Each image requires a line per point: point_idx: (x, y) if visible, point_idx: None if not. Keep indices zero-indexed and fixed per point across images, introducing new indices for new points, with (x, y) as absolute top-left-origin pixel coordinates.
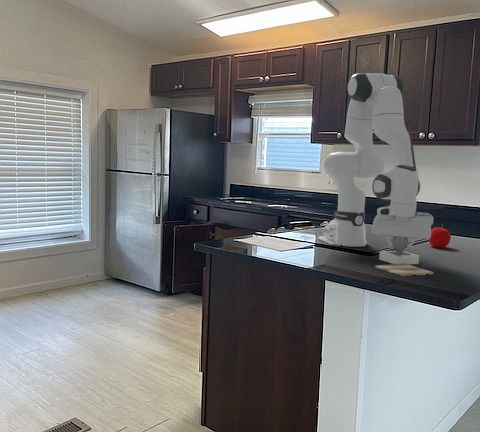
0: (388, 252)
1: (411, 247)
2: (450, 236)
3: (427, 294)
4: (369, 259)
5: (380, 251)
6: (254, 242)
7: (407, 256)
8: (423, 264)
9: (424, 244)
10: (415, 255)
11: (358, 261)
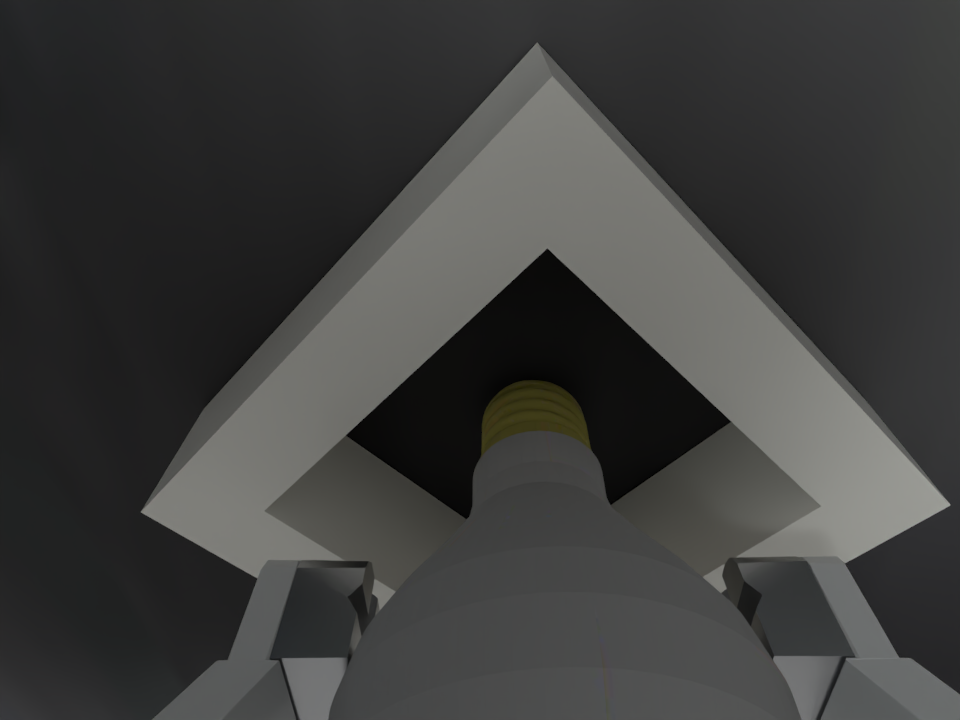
0: (312, 460)
1: (859, 605)
2: None
3: None
4: (85, 481)
5: (158, 517)
6: None
7: None
8: (950, 394)
9: None
10: (865, 534)
11: (42, 647)
